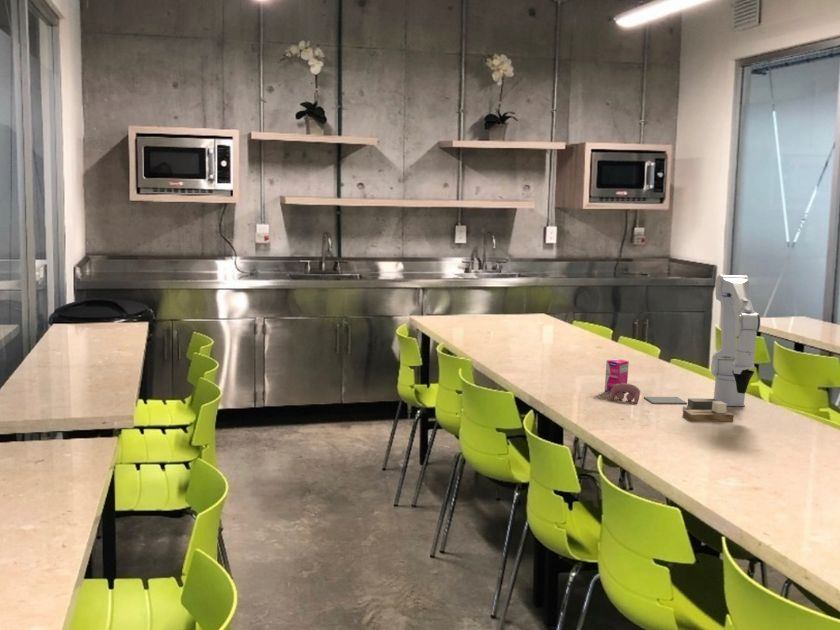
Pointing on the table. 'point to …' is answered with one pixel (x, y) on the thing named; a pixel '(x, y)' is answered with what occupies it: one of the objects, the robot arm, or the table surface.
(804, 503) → the table surface
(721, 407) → the switch tab
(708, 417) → the switch block
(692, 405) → the bar
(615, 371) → the supplement box
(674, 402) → the mat
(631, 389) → the mauve arch
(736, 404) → the robot arm
